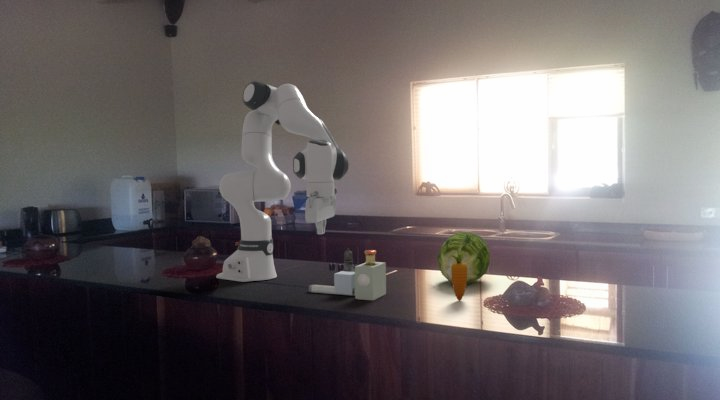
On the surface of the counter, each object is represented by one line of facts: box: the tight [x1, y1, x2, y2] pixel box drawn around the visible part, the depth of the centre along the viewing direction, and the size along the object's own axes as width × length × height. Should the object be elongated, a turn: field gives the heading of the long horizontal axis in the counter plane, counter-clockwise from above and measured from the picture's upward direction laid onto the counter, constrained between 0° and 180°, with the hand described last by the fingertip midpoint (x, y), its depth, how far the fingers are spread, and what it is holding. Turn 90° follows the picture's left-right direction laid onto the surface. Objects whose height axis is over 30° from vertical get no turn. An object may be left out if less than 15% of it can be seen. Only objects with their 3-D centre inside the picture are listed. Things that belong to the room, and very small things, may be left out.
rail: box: [308, 284, 355, 297], centre depth 190 cm, size 18×2×2 cm, turn 65°
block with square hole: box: [354, 261, 387, 301], centre depth 184 cm, size 6×10×10 cm, turn 155°
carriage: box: [333, 270, 355, 296], centre depth 188 cm, size 6×5×6 cm
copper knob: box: [364, 249, 377, 266], centre depth 184 cm, size 4×4×6 cm
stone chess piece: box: [342, 247, 355, 272], centre depth 209 cm, size 6×6×12 cm
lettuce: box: [437, 231, 491, 285], centre depth 203 cm, size 17×23×17 cm
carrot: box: [451, 250, 467, 302], centre depth 177 cm, size 5×5×15 cm
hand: (321, 233), depth 191 cm, fingers closed
